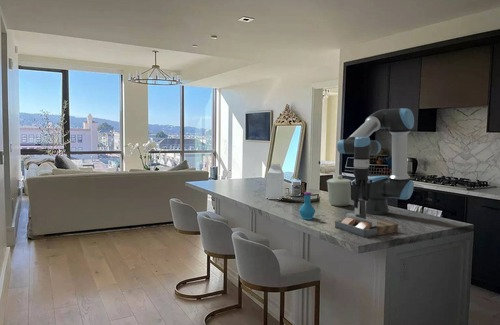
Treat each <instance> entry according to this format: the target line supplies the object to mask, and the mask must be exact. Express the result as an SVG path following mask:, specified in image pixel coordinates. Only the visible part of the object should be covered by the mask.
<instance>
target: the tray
mask: <svg viewBox="0 0 500 325" xmlns="http://www.w3.org/2000/svg"><path fill="white" fill-rule="evenodd" d="M343 220H344V219H341V220H335V221H334V228H336V229H338V230H341V231H344V232H347V233H350V234H353V235H355V236H360V237H361V238H370V237H377V236H378V235H377V228H373V229H366V230H364V229H361V228H358V227H355V226H352V225H348V224H345V223H342V221H343Z"/></svg>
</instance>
